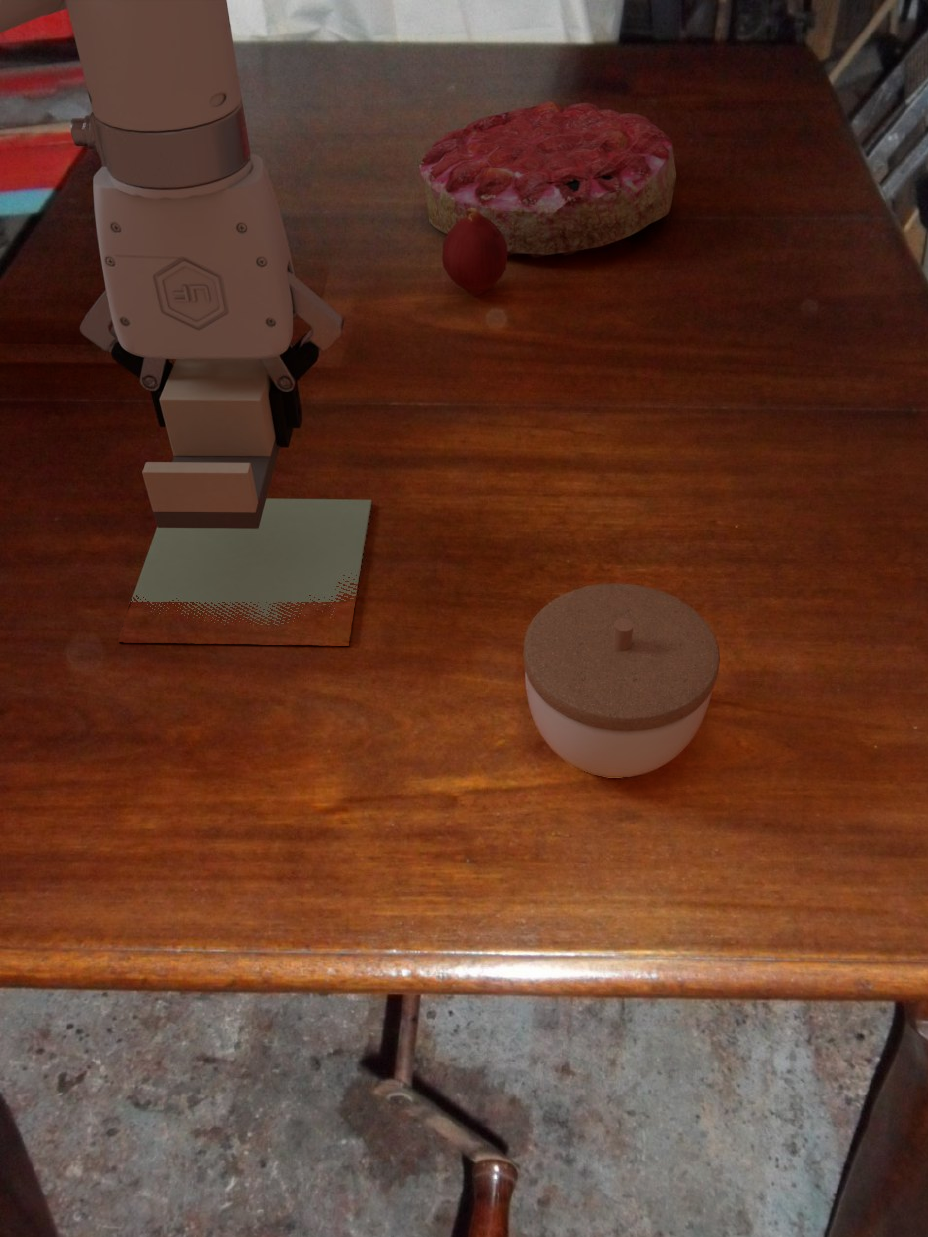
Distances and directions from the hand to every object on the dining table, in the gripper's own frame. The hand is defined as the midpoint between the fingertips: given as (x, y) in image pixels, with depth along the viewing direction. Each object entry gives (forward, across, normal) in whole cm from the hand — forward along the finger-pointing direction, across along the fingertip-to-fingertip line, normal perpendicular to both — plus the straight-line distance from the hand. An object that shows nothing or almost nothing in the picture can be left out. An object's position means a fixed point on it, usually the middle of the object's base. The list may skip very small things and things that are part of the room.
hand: (233, 432), depth 73 cm
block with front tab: (+1, 0, -1) cm, 2 cm away
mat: (+10, 0, -2) cm, 10 cm away
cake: (+10, +21, +54) cm, 59 cm away
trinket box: (+10, +24, -16) cm, 31 cm away
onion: (+10, +14, +38) cm, 41 cm away
